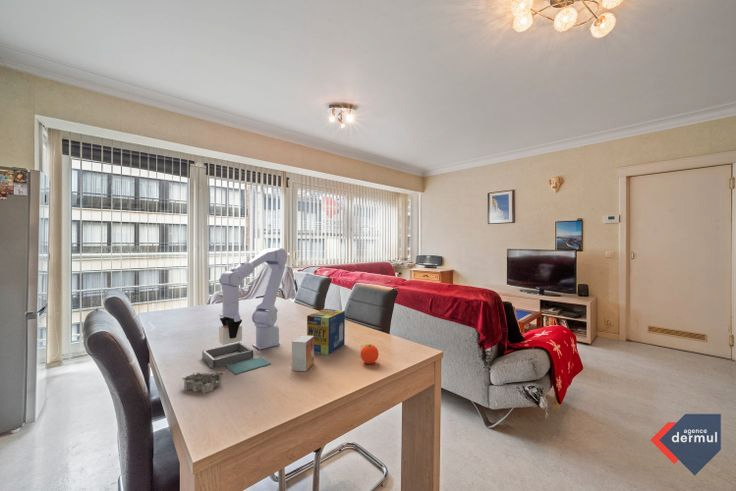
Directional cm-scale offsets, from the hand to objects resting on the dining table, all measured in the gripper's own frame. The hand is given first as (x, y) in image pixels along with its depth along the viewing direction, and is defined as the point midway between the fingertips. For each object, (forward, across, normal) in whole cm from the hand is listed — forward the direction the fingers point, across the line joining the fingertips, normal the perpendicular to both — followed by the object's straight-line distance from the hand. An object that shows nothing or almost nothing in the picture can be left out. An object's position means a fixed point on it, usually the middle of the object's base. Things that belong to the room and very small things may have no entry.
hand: (230, 336), depth 116 cm
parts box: (+2, 0, 0) cm, 2 cm away
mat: (+9, +11, +3) cm, 14 cm away
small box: (+9, +26, +17) cm, 32 cm away
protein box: (+9, +16, +35) cm, 39 cm away
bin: (+9, -2, 0) cm, 9 cm away
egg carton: (+9, +17, -14) cm, 24 cm away
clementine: (+9, +40, +37) cm, 55 cm away
